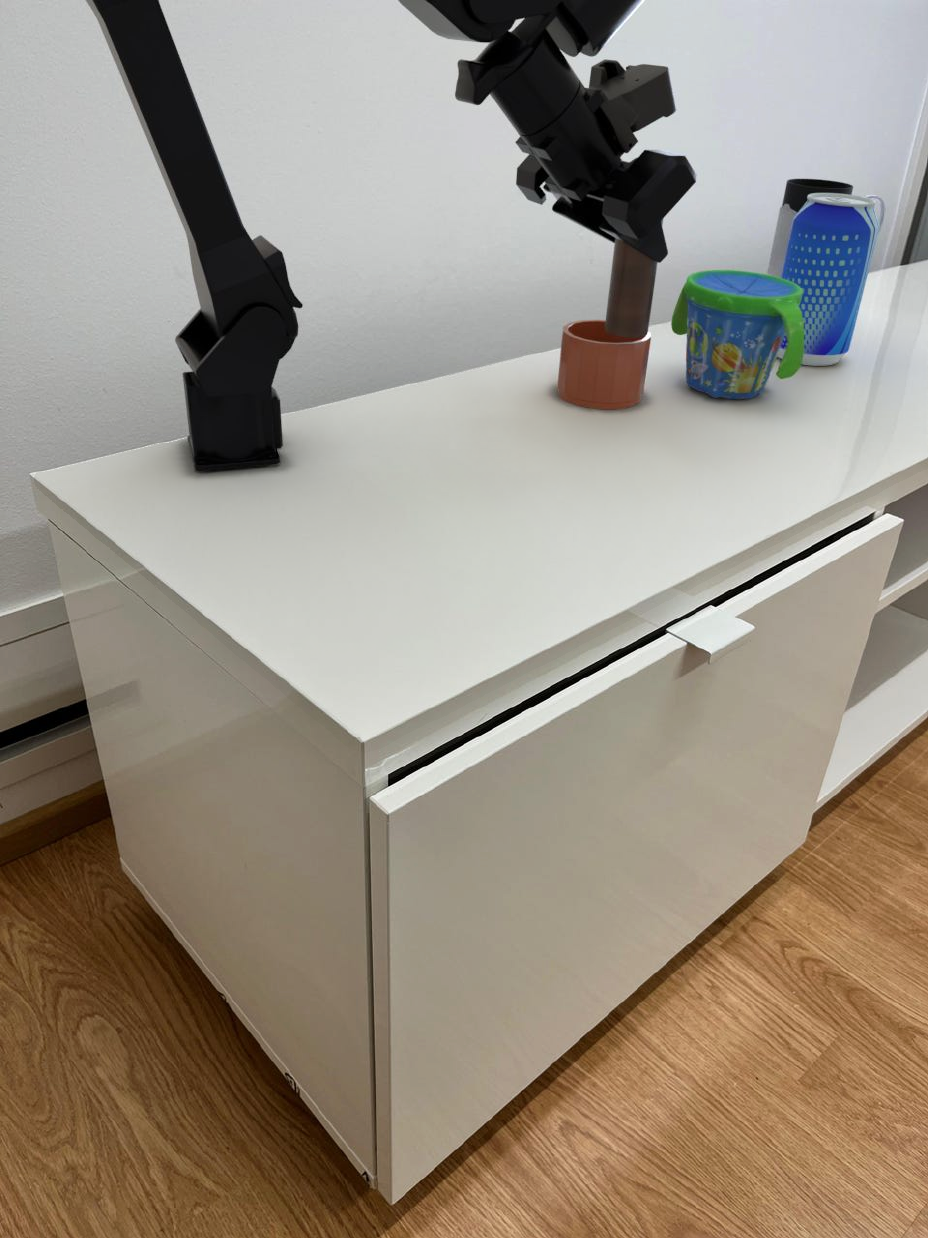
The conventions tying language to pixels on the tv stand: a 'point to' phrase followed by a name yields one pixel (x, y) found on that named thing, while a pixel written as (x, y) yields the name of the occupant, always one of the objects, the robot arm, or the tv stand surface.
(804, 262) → the beer can
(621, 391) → the terracotta cup
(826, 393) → the tv stand surface
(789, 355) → the snack cup
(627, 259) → the brown thermos bottle
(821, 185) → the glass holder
